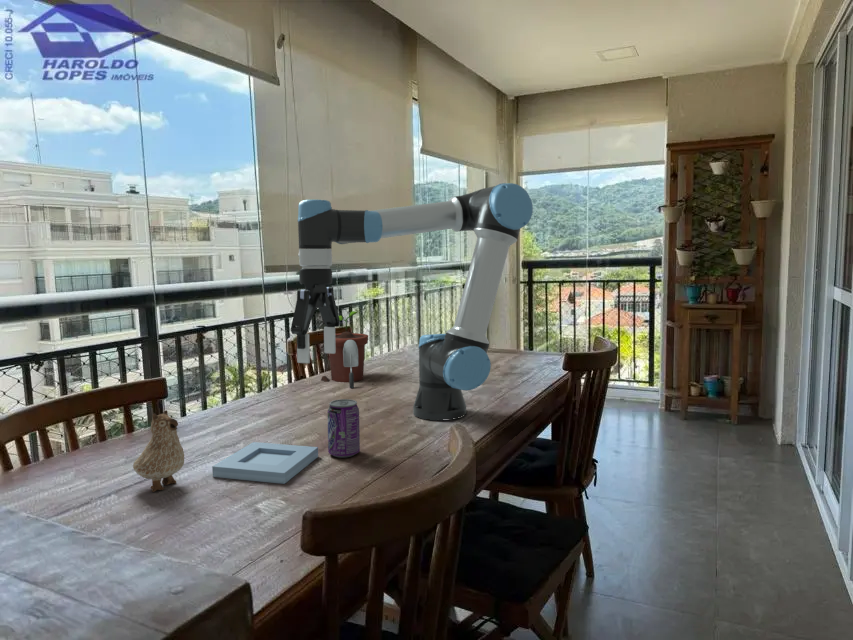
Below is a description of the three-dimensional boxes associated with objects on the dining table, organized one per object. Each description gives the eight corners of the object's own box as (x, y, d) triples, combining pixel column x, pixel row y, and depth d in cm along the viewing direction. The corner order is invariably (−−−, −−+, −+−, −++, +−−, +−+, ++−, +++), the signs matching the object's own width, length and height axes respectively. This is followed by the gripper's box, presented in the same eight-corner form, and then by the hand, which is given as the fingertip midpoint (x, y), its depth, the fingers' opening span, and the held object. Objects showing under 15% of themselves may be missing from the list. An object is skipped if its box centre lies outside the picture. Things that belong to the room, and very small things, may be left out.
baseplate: (318, 456, 129) (318, 447, 129) (284, 483, 114) (284, 473, 114) (253, 451, 133) (253, 441, 133) (212, 476, 118) (212, 466, 117)
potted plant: (380, 376, 216) (379, 310, 213) (352, 388, 196) (351, 315, 193) (338, 373, 222) (337, 308, 220) (307, 384, 202) (306, 313, 200)
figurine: (167, 498, 107) (163, 419, 106) (121, 494, 109) (116, 417, 107) (195, 479, 116) (192, 407, 115) (152, 476, 118) (148, 404, 116)
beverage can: (329, 449, 134) (328, 398, 133) (360, 448, 135) (359, 398, 134) (327, 460, 127) (325, 406, 126) (359, 459, 128) (358, 406, 127)
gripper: (324, 266, 147) (326, 349, 150) (272, 268, 123) (275, 366, 126) (352, 266, 145) (353, 350, 148) (304, 268, 121) (306, 368, 124)
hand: (317, 357), depth 137 cm, fingers open, 13 cm apart
